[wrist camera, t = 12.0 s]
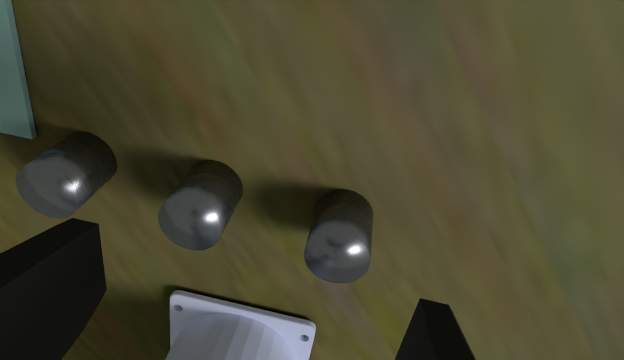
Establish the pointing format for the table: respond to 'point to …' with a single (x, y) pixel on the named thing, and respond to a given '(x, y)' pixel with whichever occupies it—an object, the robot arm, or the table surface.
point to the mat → (13, 80)
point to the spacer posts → (198, 205)
